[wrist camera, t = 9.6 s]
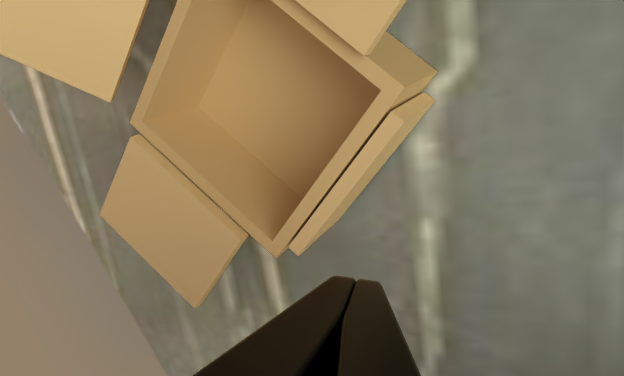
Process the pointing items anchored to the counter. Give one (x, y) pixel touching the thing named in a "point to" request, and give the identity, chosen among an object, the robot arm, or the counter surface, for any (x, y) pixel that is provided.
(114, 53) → the back flap
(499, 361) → the counter surface
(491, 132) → the counter surface
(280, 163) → the carton
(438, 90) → the counter surface
